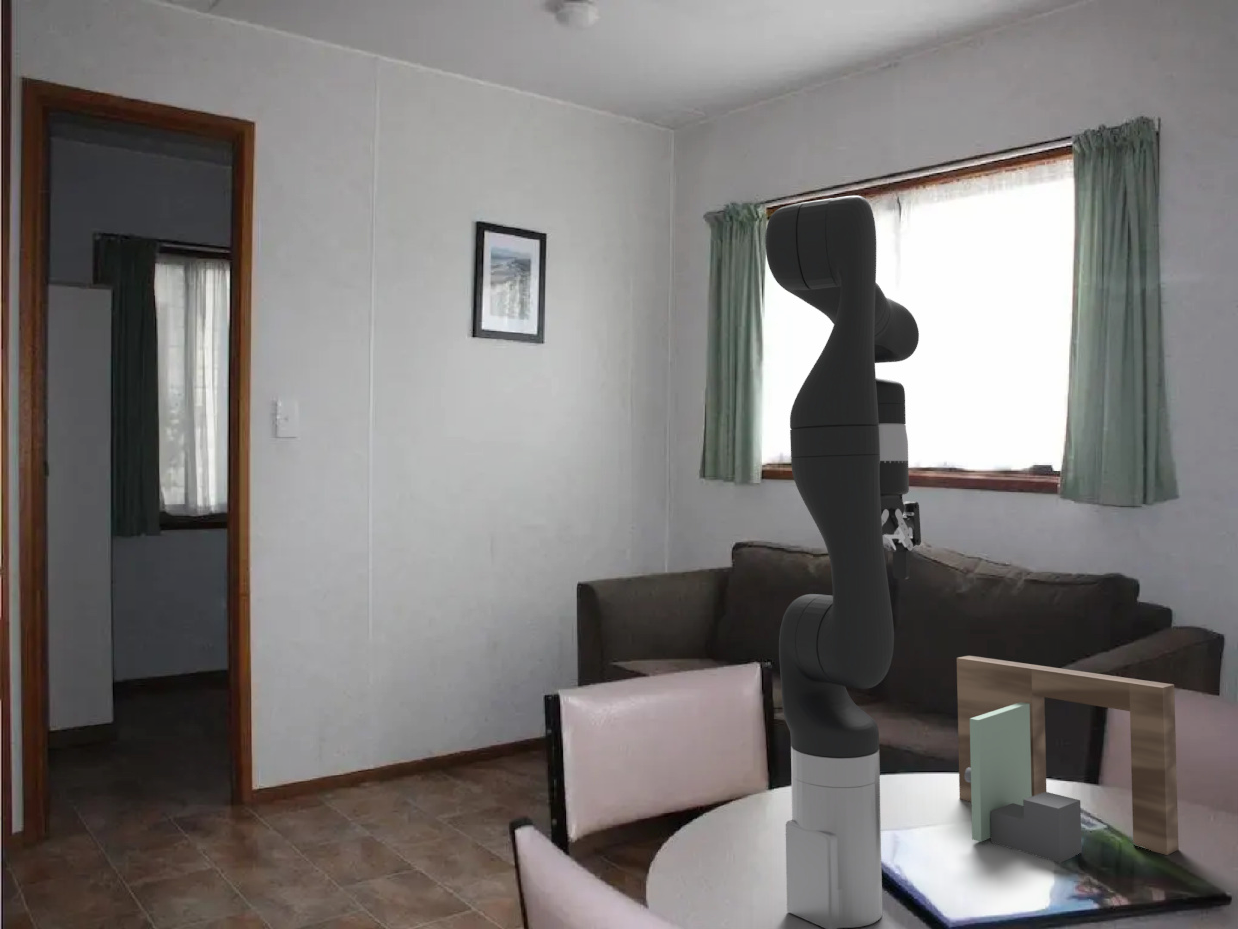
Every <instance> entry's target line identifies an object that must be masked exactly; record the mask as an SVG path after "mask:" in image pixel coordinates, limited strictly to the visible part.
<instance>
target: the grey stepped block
mask: <svg viewBox="0 0 1238 929" xmlns="http://www.w3.org/2000/svg"><path fill="white" fill-rule="evenodd" d="M1081 809H1082V808H1081V799H1077V798H1072V797H1068V796H1065V795H1061V794H1056V793H1053V792H1048V791H1047V792H1043V793H1040V794H1037V795H1035V796H1032V797H1029V798H1026V799H1023V806H1022V805H1018V804H1014V803H1012V804H1009V805H1006V806H1004V807H1001V808H998V809H995V810H992V811H991V837H990V842H991V843H992V842H993V843H992V844H996V845H999V846H1003V847H1006V848H1009V849H1013V850H1015V851H1017V852H1018V851H1019V852H1022V853H1024V854H1025V853H1026V854H1028V855H1032V856H1035V857H1039V858H1042V859H1045V860H1048V861H1051V862H1052V861H1053V862H1055V863H1059V864H1060V863H1063V862H1064V861H1067V860H1070V859H1072V858H1074V857H1076V856H1075V855H1077V856H1079V855H1080V854H1079V853H1081V852H1083V851H1082V820H1081V819H1082V816H1081V815H1082V814H1081ZM1078 854H1079V855H1078ZM1081 854H1082V853H1081Z"/></svg>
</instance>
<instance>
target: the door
mask: <svg viewBox="0 0 1238 929" xmlns="http://www.w3.org/2000/svg"><path fill="white" fill-rule="evenodd" d="M970 756H971V768H970V767H968V768H967V769H966V771H965V780H966V782H970V783H971V803H970V804H971V836H972V837H971V839H972V840H973V841H976V842H979V843H980V842H981V843H983V842H984V841H986V840H988V839H991V811H992V810H995V809H998V808H1001V807H1004V806H1006V805H1009V804H1012V803H1014V804H1018V805H1022V806H1023V799H1026V798H1029V797H1032V794H1031V749H1030V704H1029V703H1023V702H1020V703H1017V704H1014V705H1010V706H1007V707H1004V708H1001V709H998V710H995V711H992V712H989V713H986V714H982V715H979V716H976V717H973V718H970Z"/></svg>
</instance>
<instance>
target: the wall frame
mask: <svg viewBox="0 0 1238 929" xmlns="http://www.w3.org/2000/svg"><path fill="white" fill-rule="evenodd" d="M956 684H957V689H956V690H957V691H956V692H957V693H956V694H957V731H958V733H957V734H958V736H957V738H958V781H959V783H958V784H959V786H958V787H959V799H960V800H962V801H965V802H966V801H967V802H971V783H970V782H966V780H965V771H966V769H967V768H968V767H970V768H971V756H970V718H973V717H976V716H979V715H982V714H986V713H989V712H992V711H995V710H998V709H1001V708H1004V707H1007V706H1010V705H1014V704H1017V703H1020V702H1023V703H1029V704H1030V749H1031V794H1032V796H1035V795H1037V794H1040V793H1043V792H1048V791H1047V761H1046V760H1047V759H1046V757H1047V754H1046V751H1047V750H1046V749H1047V748H1046V747H1047V746H1046V714H1045V713H1046V712H1045V711H1046V708H1045V706H1046V705H1045V698H1047V699H1048V698H1049V699H1053V700H1054V699H1055V700H1060V701H1065V702H1070V703H1071V702H1072V703H1078V704H1084V705H1089V706H1097V707H1102V708H1108V709H1113V710H1119V711H1125V712H1129V720H1130V721H1129V722H1130V723H1129V725H1130V762H1131V763H1130V764H1131V765H1130V766H1131V799H1132V801H1131V802H1132V803H1131V806H1132V842H1133V843H1135V844H1136V845H1138V846H1143V847H1145V848H1147V849H1149V850H1148V851H1150V850H1151V852H1153V853H1158V854H1162V855H1166V856H1169V855H1170V854H1172V853H1174V852H1176V851H1178V850H1179V820H1178V819H1179V818H1178V817H1179V816H1178V814H1179V813H1178V812H1179V811H1178V779H1177V776H1178V775H1177V741H1176V740H1177V738H1176V734H1177V733H1176V702H1175V698H1176V696H1175V695H1176V694H1175V684H1173V683H1165V682H1159V681H1153V680H1151V681H1150V680H1143V679H1137V678H1130V677H1125V676H1124V677H1122V676H1115V675H1109V674H1101V673H1095V672H1088V671H1083V670H1082V671H1081V670H1073V669H1067V668H1066V669H1065V668H1059V667H1054V666H1053V667H1052V666H1045V665H1039V664H1032V663H1031V664H1030V663H1026V662H1025V663H1023V662H1018V661H1009V660H1005V659H1004V660H1003V659H996V658H991V657H990V658H989V657H983V656H982V657H981V656H975V655H964V656H959V657H956ZM1133 843H1132V844H1133Z"/></svg>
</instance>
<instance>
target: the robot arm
mask: <svg viewBox="0 0 1238 929" xmlns="http://www.w3.org/2000/svg"><path fill="white" fill-rule="evenodd" d="M764 242H765V255H766V261H767V263H768V268H769V271H770V272H771V274H772V277H773V278H774V280H775V281H776V283H777V284H778V285H779V286H780V287H781V288H782V289H784V290H785V291H787V293H790V294H792V295H794V296H795V297H797V298H798V299H800V300H802V301H804V302H805V303H806V304H808V305H810V306H811V307H813V308H815V309H817V310H818V311H819V312H821V313H822V314H824V315H825V316H826V317H827V318H828V319H829V320H830V321H831V323H833V324H832V325H833V327H832V330H831V332H830V335H829V337H828V339H827V341H826V344H825V346H824V347H823V349H822V351H821V352H820V355H819V356H818V358H817V360H816V362H815V363H814V365H813V366H812V368H811V369H810V372H809V373H808V375H807V376H806V378H805V380H804V382H803V383H802V385H801V387H800V389H799V391H798V393H797V394H796V397H795V399H794V401H793V404H792V407H791V410H790V415H789V428H790V430H789V431H790V432H789V436H790V437H789V439H790V464H791V465H790V466H791V472H792V478H793V479H794V480H793V481H794V482H795V486H796V488H797V490H798V493H799V495H800V496H801V499H802V501H803V502H804V504H805V506H806V509H807V510H808V513H810V515H811V518H812V520H813V521H814V523H815V524H816V527H817V529H818V530H819V533H820V535H821V537H822V539H823V542H824V545H825V547H826V551H827V554H828V559H829V566H830V571H831V572H830V573H831V585H832V586H831V587H832V595H830V594H829V595H828V594H821V593H820V594H819V593H818V594H816V593H809V594H804V595H801V596H799V597H797V598H796V599H794V600H793V601H792V602H791V603H790V604H789V605H788V607H787V608H786V610H785V613H784V614H783V617H782V619H781V620H782V621H781V623H780V624H781V625H780V628H779V639H778V657H779V673H780V685H781V701H782V702H781V703H782V712H783V716H784V719H785V723H786V725H787V728H788V730H789V733H790V759H791V760H790V764H791V766H790V767H791V772H790V773H791V774H790V775H791V782H790V783H791V819H790V820H788V821H786V822H785V866H786V868H785V869H786V872H785V873H786V874H785V875H786V912H787V913H790V914H792V915H794V916H796V917H799V918H801V919H804V920H805V921H807V922H810V923H812V924H815V925H817V926H820V927H822V928H824V929H843V928H844V929H848V928H849V929H850V928H853V929H854V928H861V927H864V926H870V925H872V924H875V923H876V922H878V920H880V919H881V918H882V916H883V887H882V885H883V882H882V881H883V880H882V879H883V876H882V832H881V830H882V828H881V823H882V822H881V782H880V781H881V780H880V779H881V778H880V777H881V771H880V770H881V767H880V766H881V765H880V764H881V763H880V731H879V726H878V724H877V721H875V720H874V718H873V717H872V716H870V715H869V714H867V713H866V712H865V711H864V710H863V709H861V708H860V707H859V706H858V705H857V704H856V703H855V702H854V700H853V699H852V698H851V696H850V695H849V692H848V691H847V687H848V688H854V689H860V690H861V689H862V690H863V689H870V688H871V689H872V688H874V687H876V686H878V685H879V683H881V682H882V681H883V680H884V679H885V677H886V675H888V672H889V670H890V667H891V664H892V660H893V656H894V646H895V645H894V644H895V643H894V642H895V629H894V618H893V617H894V616H893V611H892V602H891V595H890V588H889V586H890V585H889V581H888V580H889V578H888V572H887V566H886V557H885V548H884V538H886V539H888V541H889V543H890V544H891V547H892V549H894V551H892V576H893V578H894V579H896V580H897V579H898V580H907V579H909V578H910V577H911V576H910V574H911V551H912V550H913V548H914V547H915V546H921V543H922V534H921V533H922V532H921V531H922V530H921V518H920V504H919V502H917V501H904V500H903V495H907V494H908V493H909V491H910V482H909V481H910V480H909V479H910V478H909V475H910V474H909V472H910V471H909V441H908V434H907V433H908V432H907V426H906V392H905V387H904V384H902V383H901V382H899V381H895V380H892V379H884V378H877V376H876V364H882V363H898V362H902V361H905V360H907V359H908V358H910V357H911V356H912V355H913V354H914V353H915V351H916V349H917V348H918V346H919V341H920V340H919V339H920V336H919V335H920V334H919V327H918V324H917V321H916V318H914V315H913V314H912V313H911V312H910V310H909V309H908V308H907V307H905V306H904V305H903V304H901V303H899V302H897V301H895V300H893V299H891V298H888V297H886V295H885V293H884V292H883V290H882V289H881V287H880V285H879V284H878V283H877V282H876V281H877V229H876V223H875V217H874V213H873V209H872V207H871V204H870V202H869V201H868V200H867V198H865V197H863V196H861V195H846V196H837V197H834V198H833V197H832V198H824V199H818V200H812V201H805V202H798V203H794V204H789V205H785V206H783V207H780V208H778V209H776V210H775V211H774V212H773V213H772V214H771V215H770V217H769V219H768V222H767V224H766V230H765V241H764ZM909 529H911V530H912V534H911V535H912V536H910V530H909Z"/></svg>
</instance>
